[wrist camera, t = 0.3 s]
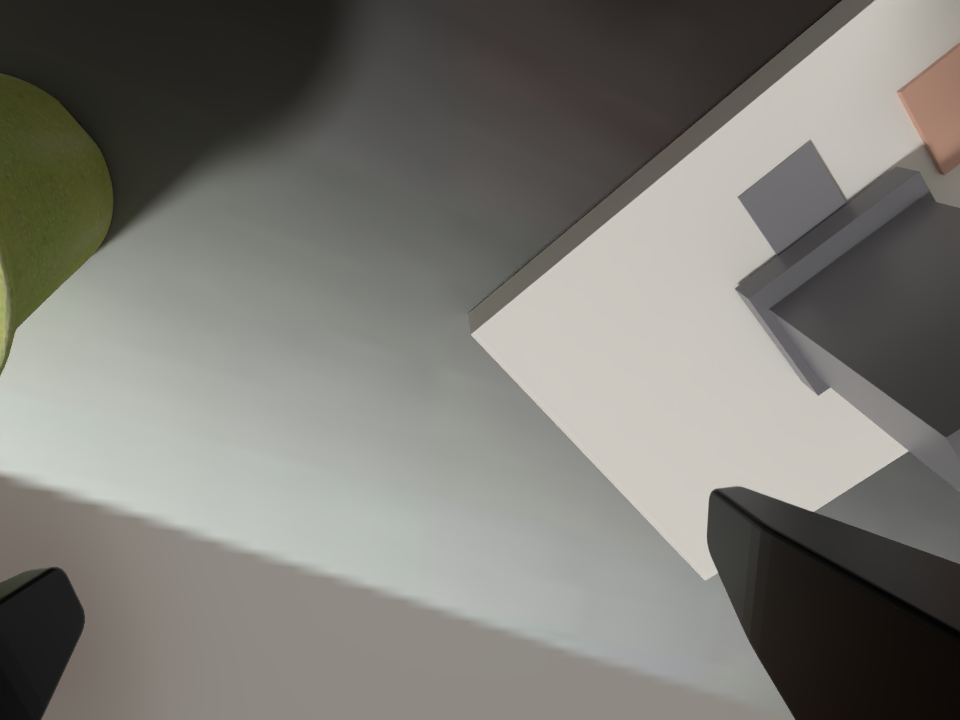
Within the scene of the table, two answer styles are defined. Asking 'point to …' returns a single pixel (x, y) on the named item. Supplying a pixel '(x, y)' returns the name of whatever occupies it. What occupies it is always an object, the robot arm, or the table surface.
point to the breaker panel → (730, 275)
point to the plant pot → (44, 201)
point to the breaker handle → (876, 313)
